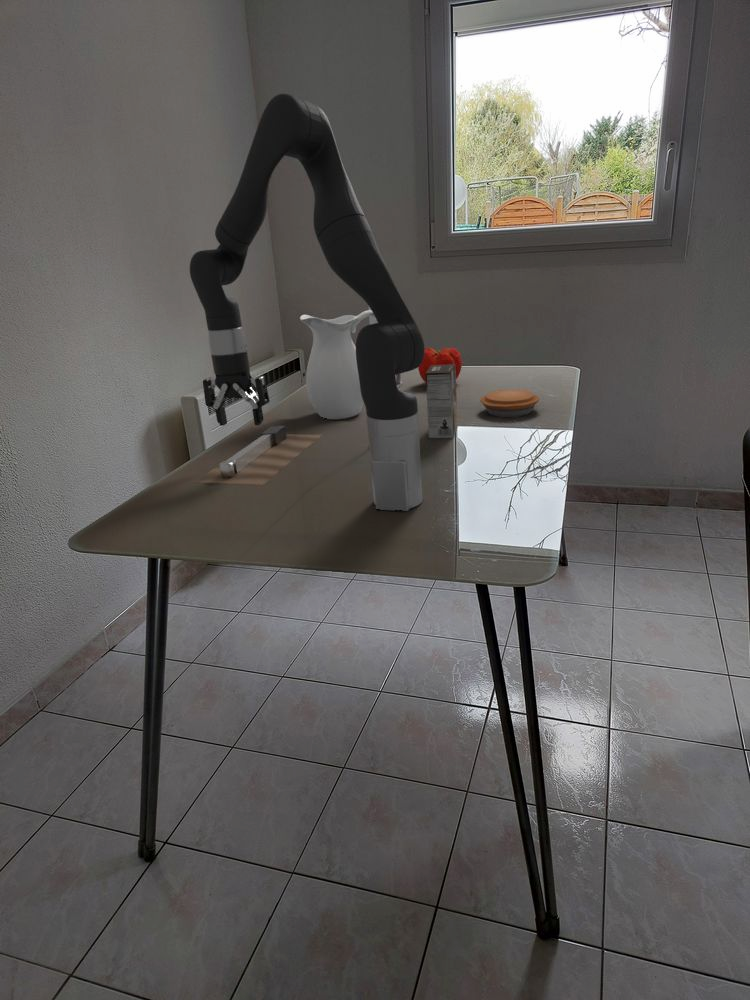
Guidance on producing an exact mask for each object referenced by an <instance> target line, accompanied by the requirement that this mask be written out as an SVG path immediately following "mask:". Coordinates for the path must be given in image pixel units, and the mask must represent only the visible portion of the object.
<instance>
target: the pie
mask: <svg viewBox="0 0 750 1000" xmlns="http://www.w3.org/2000/svg"><path fill="white" fill-rule="evenodd" d="M479 401H480V402H481V404H482V405H483V407H484V408H485V409H486V411H487V413H488V414H490V415H491V416H494V415H495V416H494V417H499V416H501V417H500V418H516V416H517V417H522V415H523V416H527V415H529V414H530V413H532V411H533V410H534V408H535V405H537V404H538V403H539V401H540V396H539V395H538V394H535V393H533V392H531V391H529V390H525V389H524V390H523V389H501V390H494V391H491V392H489V393H487V394H485V395H484V396H482V397H480V399H479Z"/></svg>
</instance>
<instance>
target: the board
mask: <svg viewBox="0 0 750 1000" xmlns="http://www.w3.org/2000/svg"><path fill="white" fill-rule="evenodd" d="M322 435H323V434H291V433H290V434H287V433H286V437H287V438H286V439H284V440H283V441H282V442H280V443H279V444H278V445H273V446H272V447H271V448H269V449H268V450H267V451H265V452H264V453H263V454H261V455H260V456H259V457H257V458H256V459H255V460H254V461H252V462H251V463H250V464H248V465H247V466H246V467H244V468H243V469H242V470H240V471H239V472H238V473H235V476H234V477H233V478H229V479H223V478H222V476H221V470H220V464H218V465H217V466H216V467H213V468H212V469H211V470H209V471H208V472H206V473H205V474H204V475H202V476H201V477H199V478H198V479H197V480H195V481H194V483H196V484H197V483H202V484H221V485H222V484H225V485H226V484H228V485H229V484H230V485H248V486H250V485H252V486H264V485H265V484H266V483H267V482H268V481H269V480H271V479H272V478H273V477H274V476H276V475H277V474H278V473H279V472H280V471H282V470H283V469H284V468H286V466H287V465H288V464H290V463H291V462H292V461H293V460H294V459H296V458H297V457H298V456H299V455H301V454H302V453H303V452H304V451H305V450H306V449H307V448H308V447H310V446H311V445H312V444H313V443H314V442H316V441H317V440H318V439H319V438H320V437H321V436H322ZM260 437H261V435H260V436H258V437H257V438H256V439H254V440H253V441H252V442H250V443H248V444H247V445H246V446H245V447H247V446H248V445H250V444H251V443H253V442H254V441H255V440H257V439H258V438H260ZM245 447H243V448H242V449H244V448H245ZM242 449H240V450H238V451H237V452H236V453H234V454H233V455H231V456H230V457H228V458H227V459H225V460H224V461H227V460H228V459H229V458H231V457H232V456H234V455H235V454H237V453H238V452H240V451H241V450H242Z"/></svg>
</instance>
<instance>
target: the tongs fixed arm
mask: <svg viewBox="0 0 750 1000" xmlns="http://www.w3.org/2000/svg"><path fill="white" fill-rule="evenodd" d="M278 426H279V425H278ZM278 426H277V425H276V426H275V425H273V426H272V425H271V426H270V427H268V428H267V429H266V430H264V431H262V432H261V433H260V436H261V437H260V436H259V437H260V438H259V437H257V438H258V439H257V438H256V439H257V440H256V439H254V440H255V441H254V440H253V441H254V442H253V441H252V442H253V443H251V442H250V443H251V444H250V443H249V444H250V445H249V444H247V445H248V446H247V445H246V446H247V447H246V446H245V448H244V447H243V448H244V449H243V448H242V450H241V449H240V450H241V451H240V450H239V451H240V452H238V451H237V452H238V453H237V452H236V453H237V454H235V453H234V454H235V455H234V454H233V455H234V456H233V455H231V456H232V457H231V456H230V457H231V458H230V457H228V458H229V459H228V458H227V459H228V460H227V459H226V460H227V461H225V460H224V461H221V462H220V463H219V465H220V470H221V476H222V478H223V479H229V478H233V477H234V476H235V472H234V466H233V462H232V461H231V460H232V459H234V458H235V457H237V456H238V455H239V454H241V453H242V452H244V451H245V450H246V449H248V448H249V447H251V446H252V445H254V444H255V443H256V442H258V441H259V440H261V439H262V438H263V437H265V436H266V435H268V433H269V432H271V431H272V430H273V429H275V428H276V427H278Z"/></svg>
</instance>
